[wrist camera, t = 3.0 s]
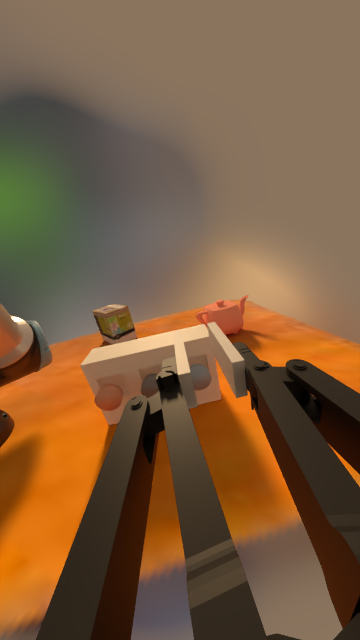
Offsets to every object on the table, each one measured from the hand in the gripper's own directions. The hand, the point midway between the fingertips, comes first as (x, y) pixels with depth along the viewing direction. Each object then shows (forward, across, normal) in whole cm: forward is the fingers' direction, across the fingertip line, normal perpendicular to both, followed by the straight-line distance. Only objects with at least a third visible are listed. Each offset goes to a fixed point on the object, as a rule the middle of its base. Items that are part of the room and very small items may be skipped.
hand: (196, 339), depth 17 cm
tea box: (+59, -28, -22) cm, 69 cm away
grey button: (+11, -8, -15) cm, 20 cm away
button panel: (+17, -8, -22) cm, 29 cm away
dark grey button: (+11, 0, -15) cm, 19 cm away
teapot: (+44, +15, -22) cm, 51 cm away
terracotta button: (+11, -16, -15) cm, 25 cm away
